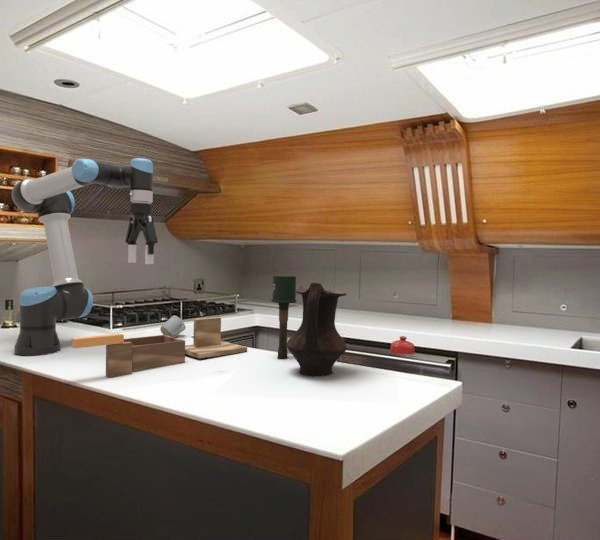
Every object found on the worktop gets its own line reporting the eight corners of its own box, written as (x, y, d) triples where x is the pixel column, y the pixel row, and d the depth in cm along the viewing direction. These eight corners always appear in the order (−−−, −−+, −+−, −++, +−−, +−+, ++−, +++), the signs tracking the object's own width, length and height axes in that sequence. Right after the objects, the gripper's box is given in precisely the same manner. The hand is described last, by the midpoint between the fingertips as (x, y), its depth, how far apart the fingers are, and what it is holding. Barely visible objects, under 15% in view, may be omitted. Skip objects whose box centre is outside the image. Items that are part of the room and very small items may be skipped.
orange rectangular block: (71, 347, 141) (71, 338, 141) (120, 341, 151) (120, 333, 151) (74, 348, 139) (74, 339, 139) (123, 343, 149) (123, 334, 149)
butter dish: (419, 357, 188) (419, 335, 188) (417, 363, 177) (418, 339, 177) (388, 354, 191) (389, 332, 191) (384, 360, 180) (385, 337, 180)
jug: (291, 368, 164) (293, 277, 163) (347, 372, 161) (350, 279, 160) (278, 385, 143) (280, 280, 142) (342, 389, 140) (345, 283, 139)
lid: (175, 353, 180) (176, 318, 179) (222, 347, 193) (222, 315, 193) (199, 361, 168) (200, 324, 168) (247, 354, 182) (247, 320, 181)
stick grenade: (281, 358, 178) (283, 274, 177) (299, 362, 173) (302, 276, 171) (264, 362, 171) (266, 275, 170) (283, 366, 166) (285, 276, 165)
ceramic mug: (168, 342, 212) (156, 328, 212) (183, 330, 217) (172, 316, 217) (174, 337, 203) (162, 322, 203) (190, 325, 208) (178, 310, 208)
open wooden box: (88, 367, 158) (89, 337, 157) (164, 357, 176) (164, 330, 175) (109, 377, 146) (109, 345, 146) (187, 365, 164) (188, 336, 164)
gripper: (116, 204, 183) (115, 262, 184) (147, 200, 165) (146, 264, 166) (135, 205, 188) (135, 262, 189) (168, 202, 170) (167, 264, 171)
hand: (140, 263), depth 177 cm, fingers open, 13 cm apart
